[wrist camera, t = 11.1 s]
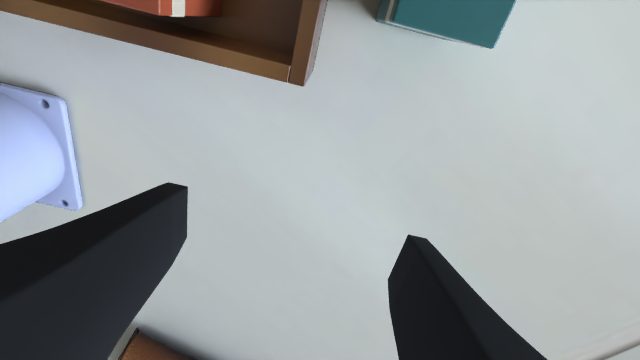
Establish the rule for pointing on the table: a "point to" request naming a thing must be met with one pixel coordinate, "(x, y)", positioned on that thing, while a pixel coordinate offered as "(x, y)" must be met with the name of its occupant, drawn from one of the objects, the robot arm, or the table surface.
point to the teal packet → (449, 18)
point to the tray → (203, 31)
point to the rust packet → (174, 7)
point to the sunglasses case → (149, 350)
